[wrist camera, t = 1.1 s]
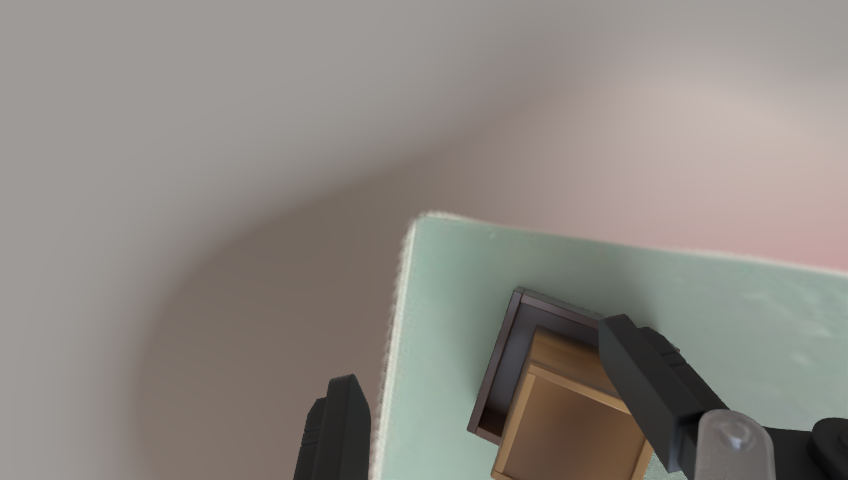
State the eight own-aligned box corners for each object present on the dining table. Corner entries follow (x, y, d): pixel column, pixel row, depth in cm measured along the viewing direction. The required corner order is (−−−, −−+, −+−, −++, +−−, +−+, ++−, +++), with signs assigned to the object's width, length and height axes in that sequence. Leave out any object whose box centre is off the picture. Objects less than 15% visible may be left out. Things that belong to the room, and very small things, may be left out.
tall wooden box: (620, 354, 26) (667, 418, 16) (592, 433, 27) (620, 545, 16) (536, 323, 28) (529, 361, 18) (511, 397, 28) (489, 478, 18)
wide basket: (661, 336, 26) (680, 349, 22) (612, 470, 27) (623, 506, 23) (518, 285, 29) (513, 290, 25) (476, 407, 30) (466, 430, 26)
